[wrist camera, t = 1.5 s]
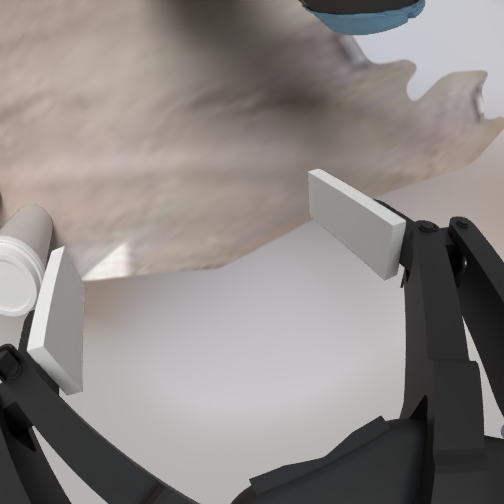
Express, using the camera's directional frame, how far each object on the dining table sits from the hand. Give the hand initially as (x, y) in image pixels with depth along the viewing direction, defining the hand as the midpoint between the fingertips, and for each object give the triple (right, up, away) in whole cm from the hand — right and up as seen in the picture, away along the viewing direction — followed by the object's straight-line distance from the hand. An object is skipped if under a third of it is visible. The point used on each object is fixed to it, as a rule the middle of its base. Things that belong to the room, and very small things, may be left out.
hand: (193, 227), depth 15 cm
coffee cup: (-28, +3, +21) cm, 35 cm away
